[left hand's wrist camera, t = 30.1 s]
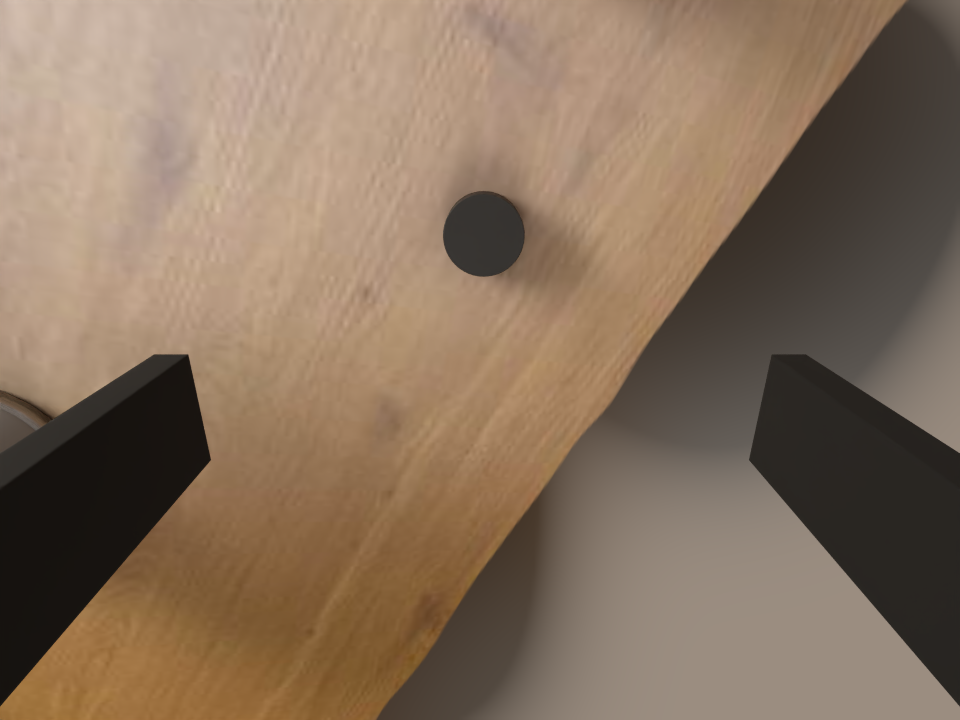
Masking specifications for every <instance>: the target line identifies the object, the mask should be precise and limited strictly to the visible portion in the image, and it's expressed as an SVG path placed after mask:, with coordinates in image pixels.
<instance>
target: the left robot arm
mask: <svg viewBox="0 0 960 720" xmlns="http://www.w3.org/2000/svg"><path fill="white" fill-rule="evenodd" d="M210 460H211V458H210V454H209V449H208V444H207V440H206V435H205V430H204V426H203V421H202V416H201V412H200V407H199V402H198V398H197V393H196V388H195V384H194V379H193V374H192V370H191V365H190V360H189V356H188V355H153V356H151V357H150V358H148V359H146V360H145V361H143V362H142V363H140V364H139V365H137V366H136V367H134V368H132V369H131V370H129V371H128V372H126V373H125V374H123V375H122V376H120V377H118V378H117V379H115V380H114V381H112V382H111V383H109V384H108V385H106V386H104V387H103V388H101V389H100V390H98V391H97V392H95V393H94V394H92V395H90V396H89V397H87V398H86V399H84V400H83V401H81V402H79V403H78V404H76V405H75V406H73V407H72V408H70V409H69V410H67V411H65V412H64V413H62V414H61V415H59V416H58V417H56V418H55V419H53V420H51V419H50V418H49V417H48V416H46V415H45V414H44V413H42V412H41V411H39V410H38V409H36V408H35V407H33V406H32V405H30V404H28V403H26V402H24V401H23V400H21V399H19V398H16V397H14V396H12V395H9V394H7V393H4V392H1V391H0V706H1V705H2V704H3V702H4V701H5V700H6V699H7V698H8V697H9V695H10V694H11V693H12V692H13V691H14V690H15V688H16V687H17V686H18V685H19V684H20V683H21V681H22V680H23V679H24V678H25V677H26V676H27V674H28V673H29V672H30V671H31V670H32V669H33V667H34V666H35V665H36V664H37V663H38V662H39V660H40V659H41V658H42V657H43V656H44V655H45V653H46V652H47V651H48V650H49V649H50V648H51V646H52V645H53V644H54V643H55V642H56V641H57V639H58V638H59V637H60V636H61V635H62V633H63V632H64V631H65V630H66V629H67V628H68V626H69V625H70V624H71V623H72V622H73V621H74V619H75V618H76V617H77V616H78V615H79V614H80V612H81V611H82V610H83V609H84V608H85V607H86V605H87V604H88V603H89V602H90V601H91V600H92V598H93V597H94V596H95V595H96V594H97V593H98V591H99V590H100V589H101V588H102V587H103V586H104V584H105V583H106V582H107V581H108V580H109V579H110V577H111V576H112V575H113V574H114V573H115V572H116V570H117V569H118V568H119V567H120V566H121V565H122V563H123V562H124V561H125V560H126V559H127V557H128V556H129V555H130V554H131V553H132V552H133V550H134V549H135V548H136V547H137V546H138V545H139V543H140V542H141V541H142V540H143V539H144V538H145V536H146V535H147V534H148V533H149V532H150V531H151V529H152V528H153V527H154V526H155V525H156V524H157V522H158V521H159V520H160V519H161V518H162V517H163V515H164V514H165V513H166V512H167V511H168V510H169V508H170V507H171V506H172V505H173V504H174V503H175V501H176V500H177V499H178V498H179V497H180V496H181V494H182V493H183V492H184V491H185V490H186V489H187V487H188V486H189V485H190V484H191V483H192V482H193V480H194V479H195V478H196V477H197V476H198V474H199V473H200V472H201V471H202V470H203V469H204V467H205V466H206V465H207V464H208V463H209V462H210ZM749 460H750V462H751V463H752V464H753V465H754V466H755V467H756V469H757V470H758V471H759V472H760V473H761V474H762V476H763V477H764V478H765V479H766V480H767V481H768V483H769V484H770V485H771V486H772V487H773V489H774V490H775V491H776V492H777V493H778V494H779V496H780V497H781V498H782V499H783V500H784V501H785V503H786V504H787V505H788V506H789V507H790V508H791V510H792V511H793V512H794V513H795V514H796V515H797V517H798V518H799V519H800V520H801V521H802V522H803V524H804V525H805V526H806V527H807V528H808V529H809V531H810V532H811V533H812V534H813V535H814V536H815V538H816V539H817V540H818V541H819V542H820V543H821V545H822V546H823V547H824V548H825V549H826V550H827V552H828V553H829V554H830V555H831V556H832V557H833V559H834V560H835V561H836V562H837V563H838V564H839V566H840V567H841V568H842V569H843V570H844V572H845V573H846V574H847V575H848V576H849V577H850V578H851V580H852V581H853V582H854V583H855V584H856V586H857V587H858V588H859V589H860V590H861V591H862V593H863V594H864V595H865V596H866V597H867V598H868V600H869V601H870V602H871V603H872V604H873V605H874V607H875V608H876V609H877V610H878V611H879V612H880V614H881V615H882V616H883V617H884V618H885V619H886V621H887V622H888V623H889V624H890V625H891V626H892V628H893V629H894V630H895V631H896V632H897V633H898V635H899V636H900V637H901V638H902V639H903V640H904V642H905V643H906V644H907V645H908V646H909V648H910V649H911V650H912V651H913V652H914V653H915V655H916V656H917V657H918V658H919V659H920V660H921V662H922V663H923V664H924V665H925V666H926V667H927V669H928V670H929V671H930V672H931V673H932V674H933V676H934V677H935V678H936V679H937V680H938V681H939V683H940V684H941V685H942V686H943V687H944V688H945V690H946V691H947V692H948V693H949V694H950V695H951V697H952V698H953V699H954V700H955V701H956V702H957V704H958V705H959V706H960V453H958V452H957V451H955V450H954V449H952V448H951V447H949V446H947V445H946V444H944V443H943V442H941V441H940V440H938V439H937V438H935V437H933V436H932V435H930V434H929V433H927V432H926V431H924V430H923V429H921V428H919V427H918V426H916V425H915V424H913V423H912V422H910V421H909V420H907V419H905V418H904V417H902V416H901V415H899V414H898V413H896V412H895V411H893V410H891V409H890V408H888V407H887V406H885V405H884V404H882V403H881V402H879V401H877V400H876V399H874V398H873V397H871V396H870V395H868V394H866V393H865V392H863V391H862V390H860V389H859V388H857V387H856V386H854V385H852V384H851V383H849V382H848V381H846V380H845V379H843V378H842V377H840V376H838V375H837V374H835V373H834V372H832V371H831V370H829V369H828V368H826V367H824V366H823V365H821V364H820V363H818V362H817V361H815V360H813V359H812V358H810V357H809V356H807V355H772V356H771V361H770V365H769V370H768V374H767V379H766V384H765V388H764V393H763V398H762V402H761V407H760V412H759V416H758V421H757V426H756V431H755V435H754V440H753V444H752V449H751V454H750V458H749Z"/></svg>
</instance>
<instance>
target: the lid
mask: <svg viewBox="0 0 960 720" xmlns="http://www.w3.org/2000/svg"><path fill="white" fill-rule="evenodd" d="M443 240H444V246H445V249H446V252H447V254H448V256H449V257H450V259H451V260H452V262H453V263H454V264H455V265H456V266H457V267H458V268H460V269H461V270H463V271H464V272H466V273H468V274H471V275H475V276H483V277H485V276H493V275H496V274H499V273H501V272H503V271H505V270H506V269H508V268H509V267H510V266H511V265H512V264H513V263H514V262H515V261H516V260H517V258H518V257H519V255H520V253H521V251H522V248H523V244H524V226H523V223H522V220H521V218H520V215H519V214H518V212H517V210H516V209H515V207H514V206H513V205H512V203H511V202H510V201H508V200H507V199H506V198H504V197H503V196H501V195H499V194H496V193H494V192H488V191H479V192H474V193H471V194H468V195H466V196H464V197H463V198H461V199H460V200H459V201H458V202H457V203H456V204H455V205H454V206H453V208H452V209H451V211H450V213H449V215H448V217H447V219H446V222H445V225H444V231H443Z"/></svg>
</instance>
